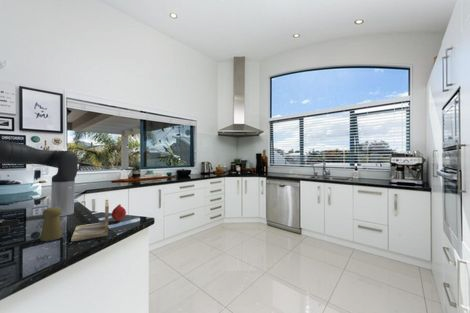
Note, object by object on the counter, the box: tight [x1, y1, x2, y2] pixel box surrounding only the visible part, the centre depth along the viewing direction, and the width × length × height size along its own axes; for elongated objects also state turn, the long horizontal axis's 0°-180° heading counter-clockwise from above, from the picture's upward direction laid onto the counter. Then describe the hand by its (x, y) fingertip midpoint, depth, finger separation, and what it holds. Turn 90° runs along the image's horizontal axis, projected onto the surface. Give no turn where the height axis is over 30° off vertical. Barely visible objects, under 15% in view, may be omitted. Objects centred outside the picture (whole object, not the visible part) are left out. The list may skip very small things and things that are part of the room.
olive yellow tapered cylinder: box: [39, 207, 63, 242], centre depth 74 cm, size 6×6×11 cm
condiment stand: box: [70, 199, 110, 242], centre depth 81 cm, size 16×11×11 cm
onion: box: [111, 204, 127, 222], centre depth 95 cm, size 6×6×8 cm
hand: (14, 225), depth 69 cm, fingers open, 8 cm apart
